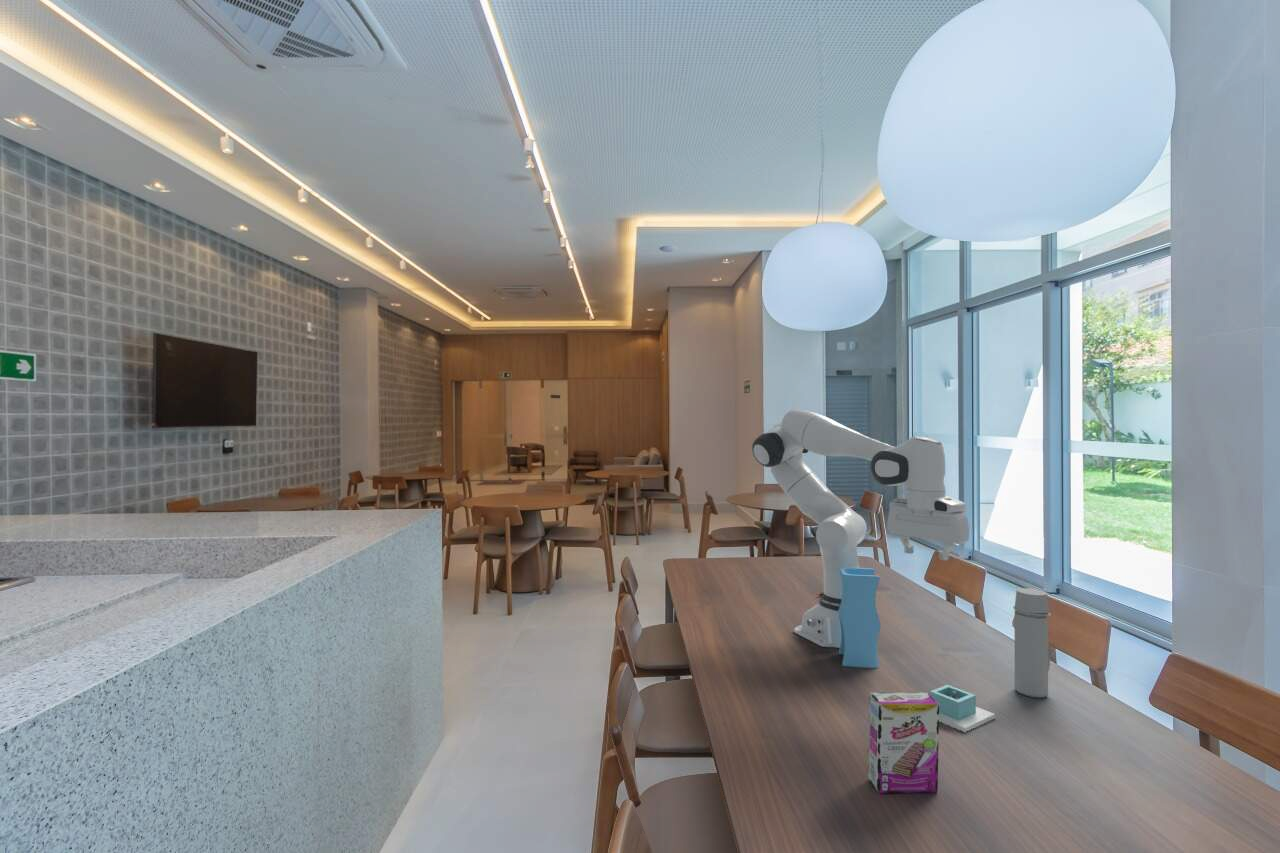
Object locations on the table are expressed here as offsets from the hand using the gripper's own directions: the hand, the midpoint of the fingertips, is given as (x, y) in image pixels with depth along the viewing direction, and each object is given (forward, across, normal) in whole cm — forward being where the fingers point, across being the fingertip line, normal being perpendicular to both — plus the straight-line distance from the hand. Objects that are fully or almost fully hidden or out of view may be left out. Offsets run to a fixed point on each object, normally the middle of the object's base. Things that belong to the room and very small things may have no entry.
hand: (926, 556), depth 156 cm
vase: (+33, -21, +1) cm, 39 cm away
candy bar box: (+33, +23, -43) cm, 59 cm away
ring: (+32, +12, -8) cm, 35 cm away
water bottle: (+33, +16, +20) cm, 42 cm away
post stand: (+33, +12, -8) cm, 36 cm away
